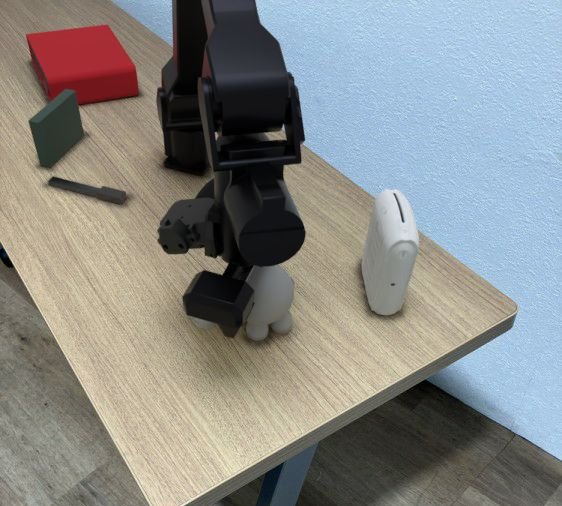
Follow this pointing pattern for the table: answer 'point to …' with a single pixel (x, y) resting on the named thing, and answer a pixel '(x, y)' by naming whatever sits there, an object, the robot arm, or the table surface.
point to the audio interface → (83, 63)
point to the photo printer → (389, 252)
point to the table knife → (90, 190)
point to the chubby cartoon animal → (267, 303)
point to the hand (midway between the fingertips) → (242, 310)
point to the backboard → (56, 128)
